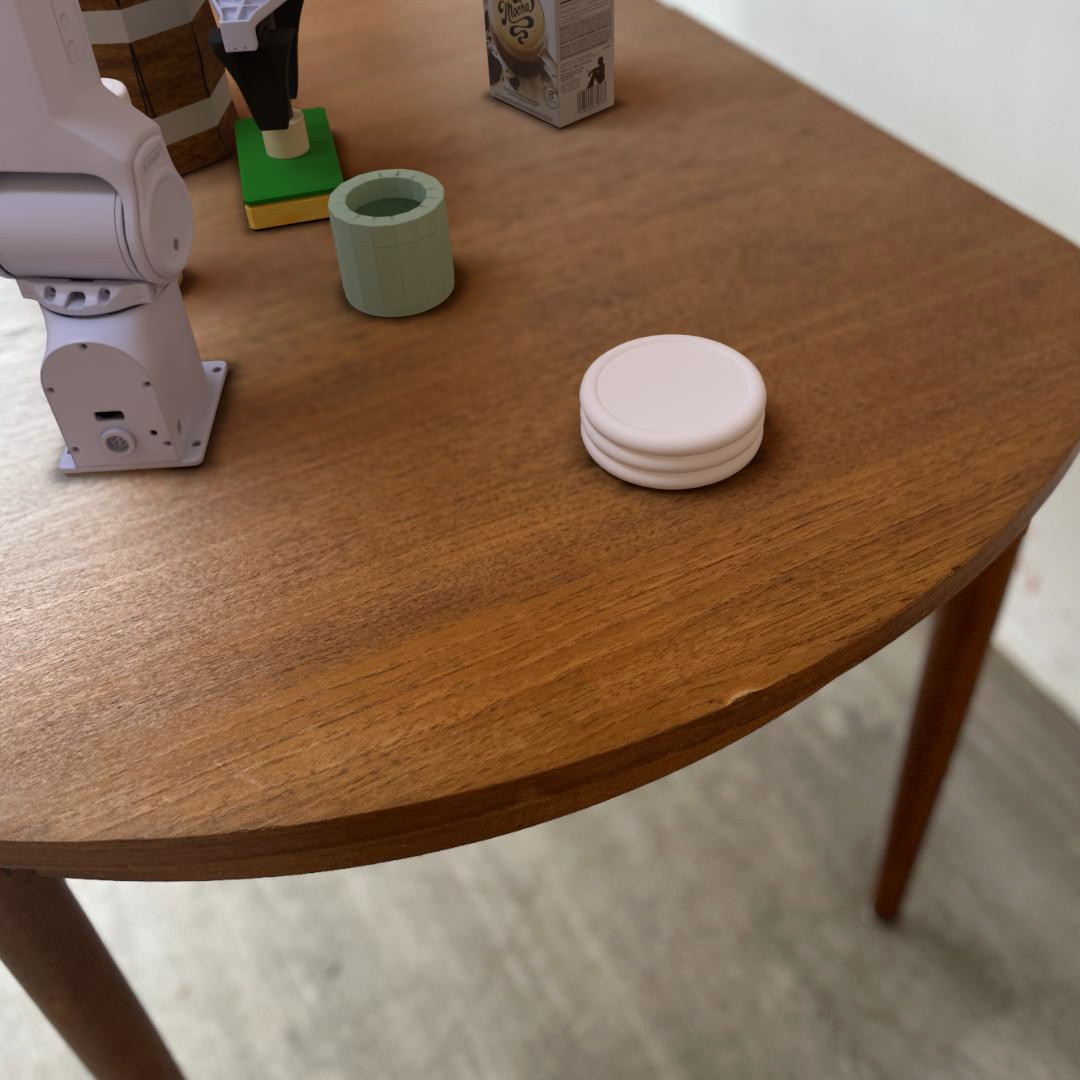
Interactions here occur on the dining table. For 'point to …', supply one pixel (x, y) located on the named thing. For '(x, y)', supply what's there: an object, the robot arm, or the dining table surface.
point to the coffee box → (551, 56)
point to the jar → (392, 242)
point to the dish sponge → (287, 174)
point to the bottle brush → (291, 139)
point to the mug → (167, 72)
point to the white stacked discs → (672, 411)
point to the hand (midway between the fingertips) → (279, 112)
